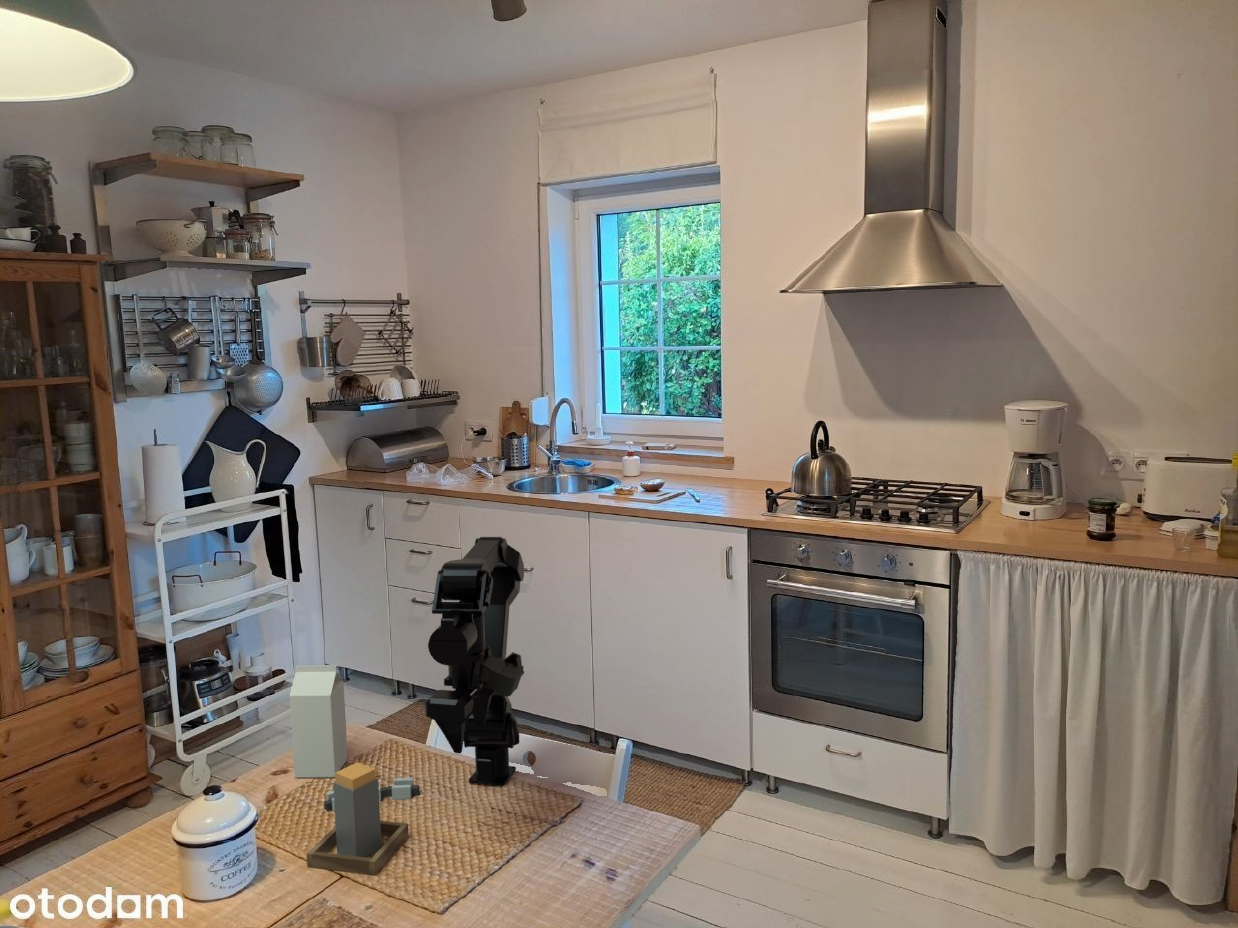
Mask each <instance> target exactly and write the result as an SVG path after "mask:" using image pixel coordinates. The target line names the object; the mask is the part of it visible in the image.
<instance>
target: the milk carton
mask: <svg viewBox="0 0 1238 928" xmlns="http://www.w3.org/2000/svg"><path fill="white" fill-rule="evenodd" d="M344 683H345V682H344V679H343V678H342V676H341V675H340V673H339V672H338V671H337V665H334V664H333V665H331V664H330V665H295V673H294V678H293V682H292V685H291V689H290V692H289V704H290V705H289V706H290V723H291V724H290V725H291V736H292V737H291V739H292V755H293V756H292V757H293V770H294V778H335V773H336V772H338V771H340V770H342V768H343V767H344V765H345V763H346V762H347V761H348V740H347V738H348V736H347V720H346V703H345V702H346V701H345V686H344V685H345V684H344Z"/></svg>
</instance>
